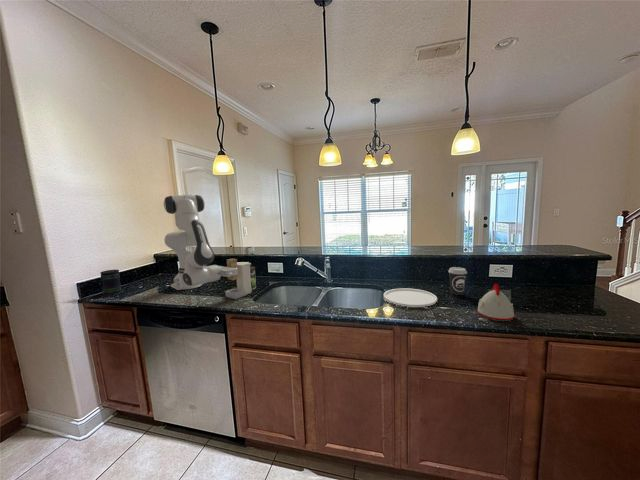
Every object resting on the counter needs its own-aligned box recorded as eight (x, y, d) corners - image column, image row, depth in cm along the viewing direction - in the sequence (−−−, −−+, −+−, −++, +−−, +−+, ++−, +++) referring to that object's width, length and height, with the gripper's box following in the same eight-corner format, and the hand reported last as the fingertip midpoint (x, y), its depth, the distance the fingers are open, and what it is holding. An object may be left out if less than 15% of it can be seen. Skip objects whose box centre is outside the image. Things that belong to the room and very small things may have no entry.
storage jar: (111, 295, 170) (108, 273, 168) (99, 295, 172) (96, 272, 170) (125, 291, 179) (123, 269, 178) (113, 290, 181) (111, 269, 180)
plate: (398, 312, 129) (398, 307, 129) (375, 294, 157) (375, 290, 156) (449, 306, 135) (449, 301, 135) (418, 290, 162) (418, 286, 162)
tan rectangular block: (227, 279, 159) (226, 259, 157) (233, 277, 162) (232, 258, 161) (232, 280, 156) (231, 260, 155) (238, 278, 160) (237, 259, 159)
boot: (225, 297, 160) (223, 266, 157) (244, 290, 172) (242, 261, 169) (235, 299, 155) (233, 267, 153) (253, 292, 167) (252, 263, 165)
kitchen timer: (480, 319, 117) (482, 287, 115) (474, 308, 130) (475, 279, 128) (518, 323, 112) (520, 289, 110) (508, 311, 125) (510, 281, 123)
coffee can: (258, 286, 180) (257, 266, 179) (252, 290, 170) (250, 269, 169) (244, 285, 183) (243, 265, 181) (237, 290, 173) (235, 269, 171)
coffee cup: (468, 293, 152) (469, 268, 150) (463, 298, 145) (464, 271, 143) (450, 290, 158) (451, 266, 157) (445, 294, 151) (446, 269, 150)
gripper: (225, 269, 142) (245, 264, 153) (202, 266, 153) (222, 261, 165) (225, 280, 143) (245, 275, 154) (203, 276, 154) (223, 271, 165)
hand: (233, 268), depth 159 cm, fingers closed on tan rectangular block, 4 cm apart
